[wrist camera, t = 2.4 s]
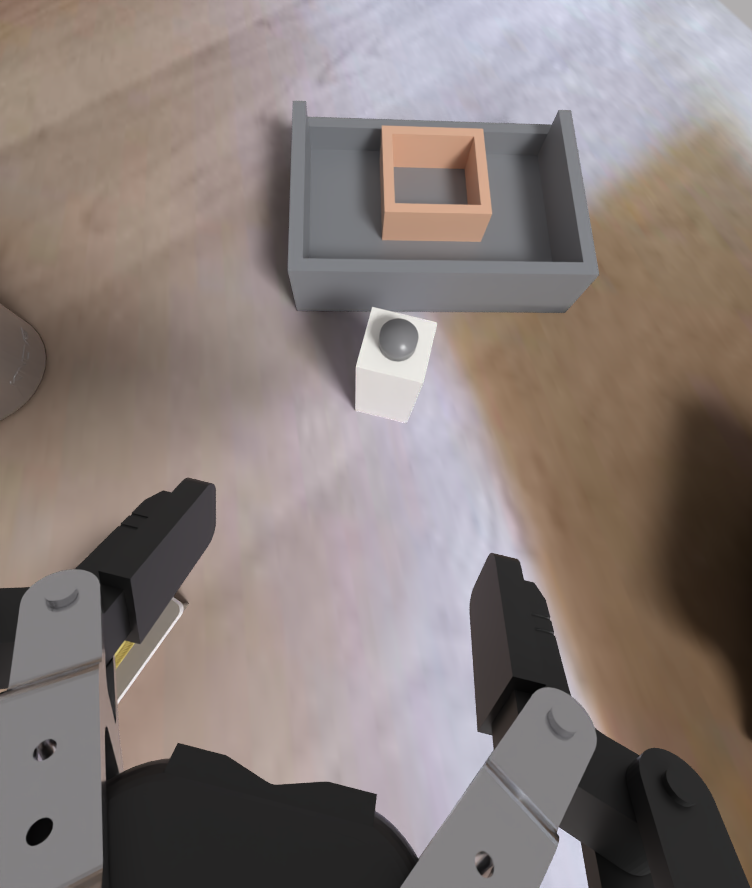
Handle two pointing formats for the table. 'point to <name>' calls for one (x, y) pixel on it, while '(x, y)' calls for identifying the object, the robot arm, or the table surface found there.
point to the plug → (392, 364)
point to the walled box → (437, 216)
